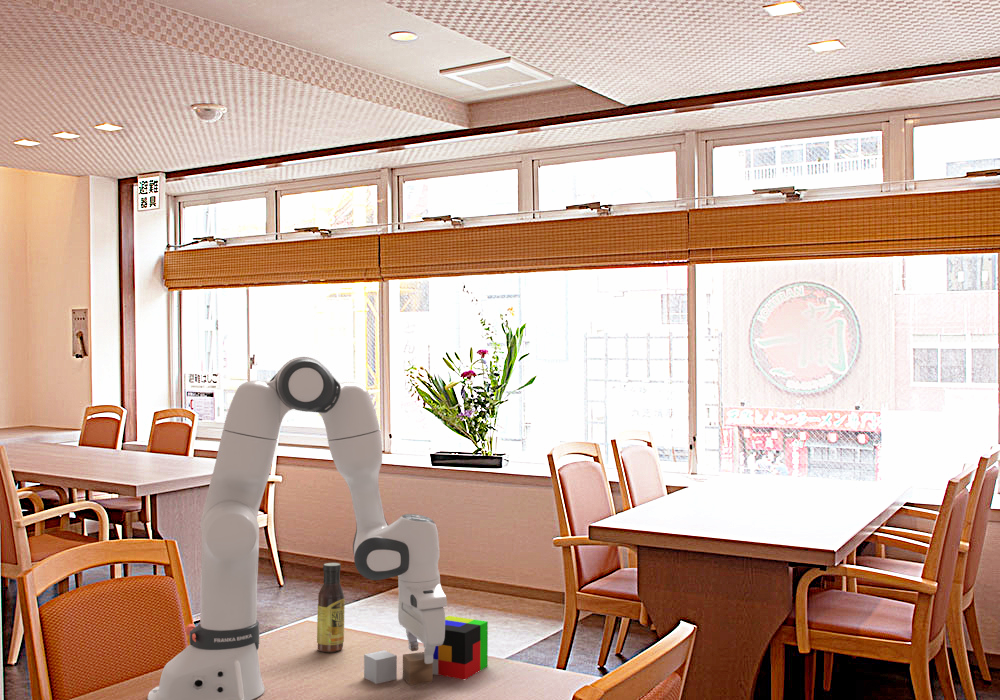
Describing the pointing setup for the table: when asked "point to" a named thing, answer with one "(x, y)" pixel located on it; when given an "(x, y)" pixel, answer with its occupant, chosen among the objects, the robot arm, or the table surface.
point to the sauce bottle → (330, 610)
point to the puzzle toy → (462, 648)
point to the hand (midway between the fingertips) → (420, 656)
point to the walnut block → (416, 669)
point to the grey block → (380, 666)
